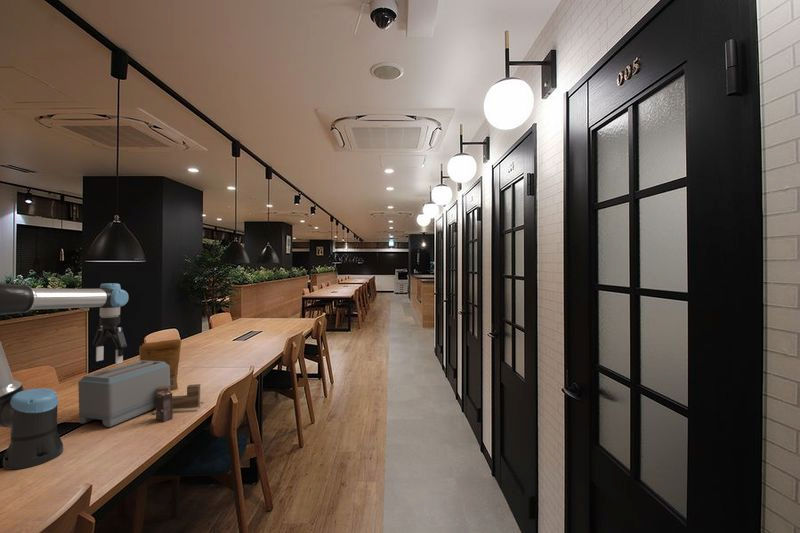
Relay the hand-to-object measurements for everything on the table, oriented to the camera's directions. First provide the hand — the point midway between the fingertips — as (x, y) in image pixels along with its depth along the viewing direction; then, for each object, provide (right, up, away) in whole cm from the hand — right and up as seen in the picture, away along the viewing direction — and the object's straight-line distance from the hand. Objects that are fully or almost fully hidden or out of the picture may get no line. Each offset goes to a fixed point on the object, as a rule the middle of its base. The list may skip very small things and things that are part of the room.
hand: (109, 361), depth 168 cm
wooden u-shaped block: (+29, -24, +5) cm, 38 cm away
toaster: (+9, -24, +2) cm, 25 cm away
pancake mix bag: (+5, -24, +29) cm, 38 cm away
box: (+30, -24, -7) cm, 39 cm away
